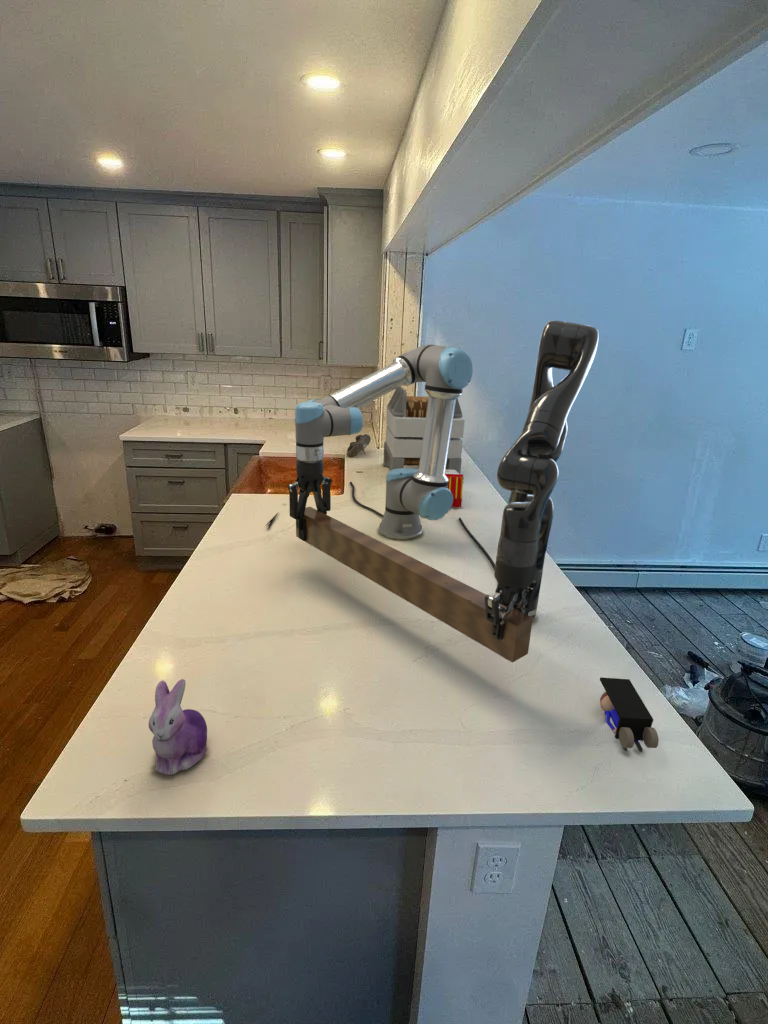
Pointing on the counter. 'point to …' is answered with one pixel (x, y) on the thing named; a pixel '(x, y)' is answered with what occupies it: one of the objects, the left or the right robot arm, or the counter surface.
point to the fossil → (358, 445)
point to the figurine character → (627, 714)
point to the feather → (271, 521)
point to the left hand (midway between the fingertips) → (310, 537)
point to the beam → (418, 584)
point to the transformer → (416, 432)
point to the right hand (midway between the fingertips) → (506, 633)
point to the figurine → (176, 730)
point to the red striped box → (455, 486)
